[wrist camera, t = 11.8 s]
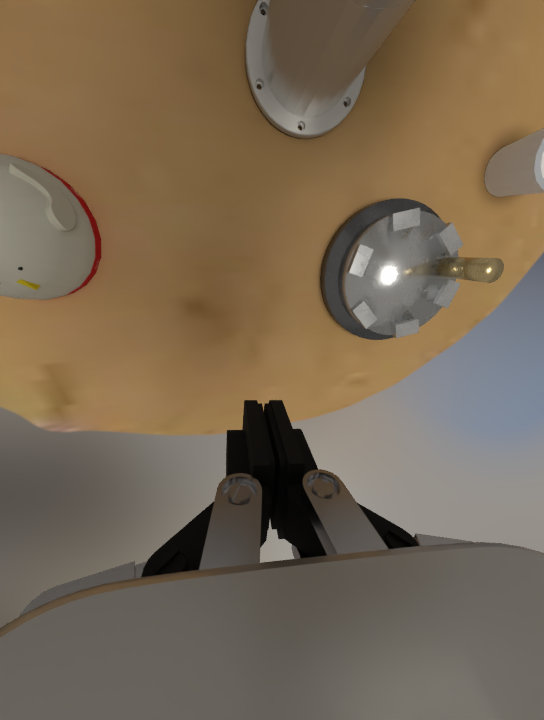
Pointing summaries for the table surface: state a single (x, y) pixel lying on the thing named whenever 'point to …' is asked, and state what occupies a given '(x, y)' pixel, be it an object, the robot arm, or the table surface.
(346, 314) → the dark grey round base
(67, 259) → the white crested helmet
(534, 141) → the grey white-topped cylinder
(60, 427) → the table surface
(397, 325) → the grey tabbed disc
